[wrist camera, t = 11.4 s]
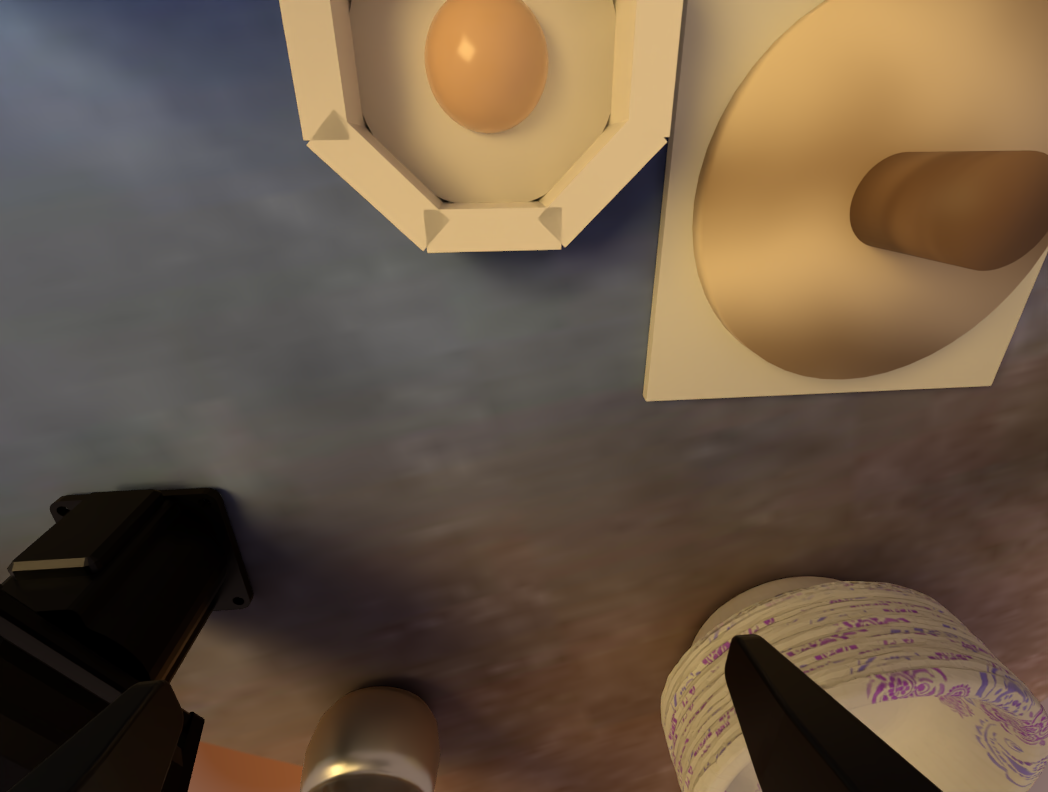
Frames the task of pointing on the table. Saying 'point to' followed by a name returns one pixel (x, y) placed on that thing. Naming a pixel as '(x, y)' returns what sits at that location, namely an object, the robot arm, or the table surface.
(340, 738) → the plastic bottle
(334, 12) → the dish
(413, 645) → the table surface
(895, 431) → the table surface
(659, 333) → the mat
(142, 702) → the robot arm
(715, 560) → the table surface
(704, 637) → the paper bowls
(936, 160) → the lid
